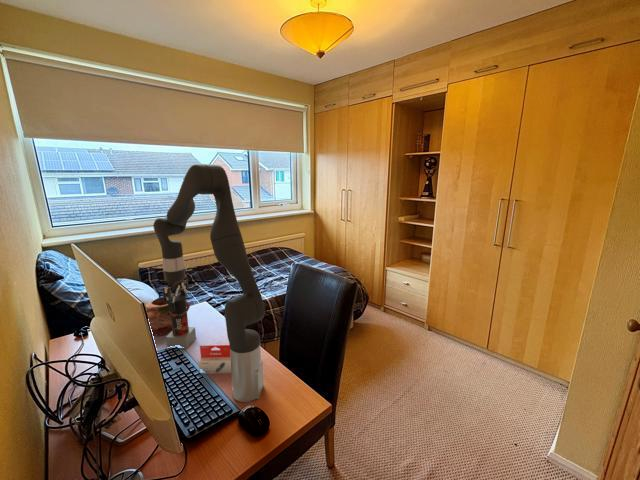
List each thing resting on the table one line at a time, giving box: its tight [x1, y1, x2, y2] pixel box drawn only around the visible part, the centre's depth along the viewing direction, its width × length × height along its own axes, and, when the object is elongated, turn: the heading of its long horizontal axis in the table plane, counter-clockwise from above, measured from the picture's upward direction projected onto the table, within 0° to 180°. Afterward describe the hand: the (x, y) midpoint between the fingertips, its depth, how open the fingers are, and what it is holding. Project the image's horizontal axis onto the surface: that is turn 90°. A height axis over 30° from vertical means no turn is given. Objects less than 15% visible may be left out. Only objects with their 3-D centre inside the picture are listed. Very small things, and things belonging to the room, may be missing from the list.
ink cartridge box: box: [198, 344, 231, 374], centre depth 101 cm, size 2×11×10 cm, turn 93°
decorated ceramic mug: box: [145, 296, 191, 336], centre depth 127 cm, size 20×12×14 cm, turn 131°
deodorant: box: [170, 294, 189, 336], centre depth 116 cm, size 6×6×15 cm
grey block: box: [165, 326, 197, 350], centre depth 118 cm, size 8×8×5 cm
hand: (178, 306), depth 115 cm, fingers open, 8 cm apart
